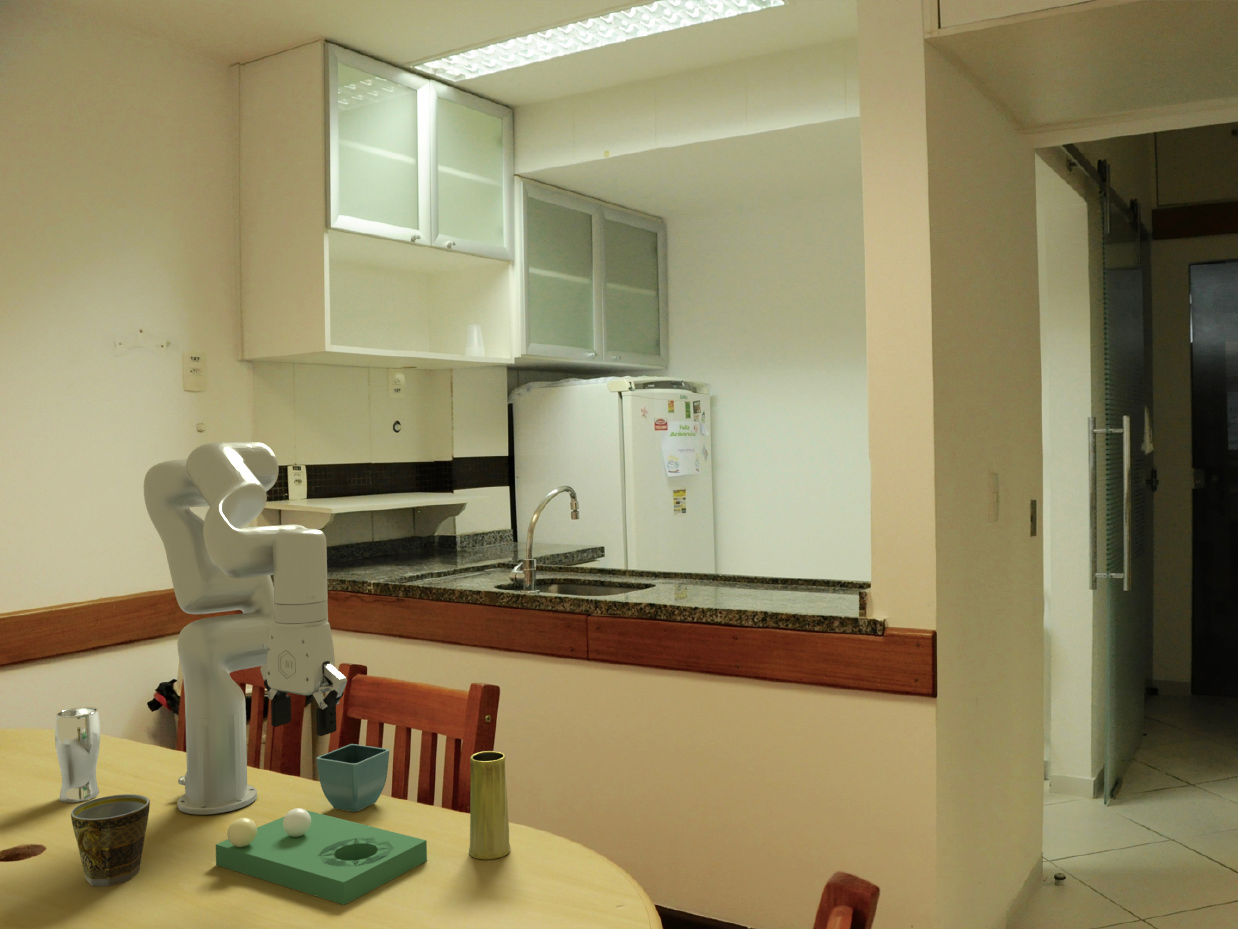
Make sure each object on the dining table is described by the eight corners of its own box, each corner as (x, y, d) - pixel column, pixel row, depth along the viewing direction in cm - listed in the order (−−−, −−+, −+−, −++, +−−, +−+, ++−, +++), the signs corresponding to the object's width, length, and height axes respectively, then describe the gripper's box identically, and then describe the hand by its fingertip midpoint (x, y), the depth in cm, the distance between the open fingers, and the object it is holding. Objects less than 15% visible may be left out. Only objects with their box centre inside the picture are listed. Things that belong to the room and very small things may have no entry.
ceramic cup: (97, 861, 148) (95, 794, 147) (164, 861, 147) (162, 793, 147) (44, 902, 135) (42, 828, 134) (117, 902, 134) (115, 827, 134)
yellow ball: (221, 848, 144) (220, 820, 144) (244, 838, 148) (244, 811, 148) (240, 853, 142) (239, 825, 142) (263, 844, 146) (262, 816, 145)
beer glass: (110, 794, 176) (107, 709, 176) (70, 807, 171) (68, 719, 170) (87, 787, 180) (85, 704, 180) (48, 799, 174) (46, 713, 174)
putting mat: (216, 865, 146) (215, 844, 146) (302, 828, 159) (302, 809, 159) (344, 905, 132) (343, 882, 132) (426, 861, 146) (426, 840, 146)
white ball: (277, 838, 148) (276, 811, 148) (298, 829, 151) (298, 802, 151) (295, 843, 146) (295, 815, 146) (317, 834, 149) (316, 807, 149)
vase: (477, 863, 145) (475, 765, 144) (463, 848, 150) (461, 754, 150) (516, 855, 148) (514, 758, 147) (501, 841, 153) (500, 747, 153)
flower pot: (315, 811, 167) (314, 757, 167) (352, 794, 175) (351, 743, 175) (355, 819, 163) (354, 764, 163) (392, 802, 171) (391, 749, 170)
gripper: (241, 612, 149) (243, 727, 149) (322, 622, 140) (324, 744, 140) (282, 605, 155) (284, 715, 156) (362, 614, 146) (364, 731, 147)
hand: (303, 729), depth 148 cm, fingers open, 9 cm apart
